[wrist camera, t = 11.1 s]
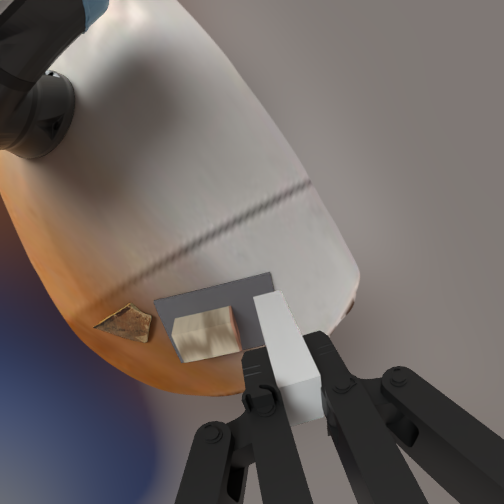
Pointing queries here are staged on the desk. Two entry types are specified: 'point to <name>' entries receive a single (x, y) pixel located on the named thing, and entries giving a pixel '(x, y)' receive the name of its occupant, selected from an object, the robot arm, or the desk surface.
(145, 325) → the shard
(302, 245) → the desk surface
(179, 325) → the birch block
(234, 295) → the rubber mat
